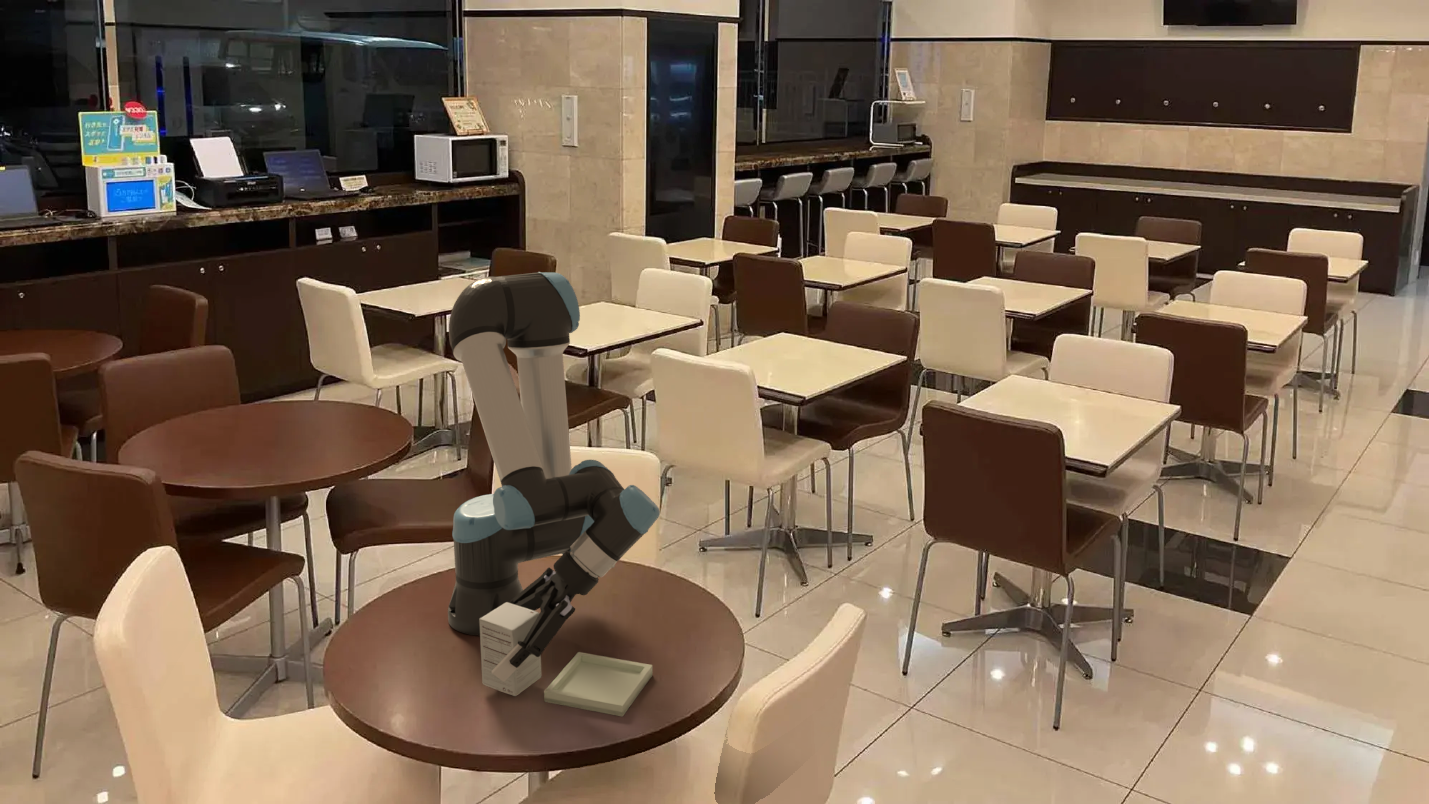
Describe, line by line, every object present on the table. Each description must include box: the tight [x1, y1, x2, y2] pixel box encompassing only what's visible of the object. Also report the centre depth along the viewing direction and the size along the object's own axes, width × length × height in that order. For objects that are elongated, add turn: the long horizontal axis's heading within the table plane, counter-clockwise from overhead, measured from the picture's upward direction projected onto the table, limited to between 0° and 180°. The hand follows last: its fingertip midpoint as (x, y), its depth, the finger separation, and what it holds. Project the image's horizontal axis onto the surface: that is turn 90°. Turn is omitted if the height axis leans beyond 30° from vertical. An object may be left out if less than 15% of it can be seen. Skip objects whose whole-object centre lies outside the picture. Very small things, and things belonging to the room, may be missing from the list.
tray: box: [543, 651, 653, 717], centre depth 201 cm, size 14×14×2 cm
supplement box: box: [479, 602, 543, 697], centre depth 198 cm, size 7×7×13 cm
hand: (493, 660), depth 198 cm, fingers closed on supplement box, 10 cm apart
